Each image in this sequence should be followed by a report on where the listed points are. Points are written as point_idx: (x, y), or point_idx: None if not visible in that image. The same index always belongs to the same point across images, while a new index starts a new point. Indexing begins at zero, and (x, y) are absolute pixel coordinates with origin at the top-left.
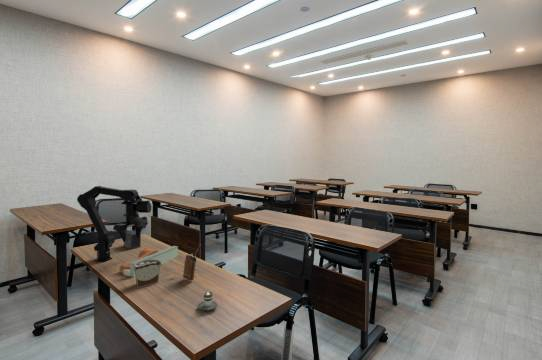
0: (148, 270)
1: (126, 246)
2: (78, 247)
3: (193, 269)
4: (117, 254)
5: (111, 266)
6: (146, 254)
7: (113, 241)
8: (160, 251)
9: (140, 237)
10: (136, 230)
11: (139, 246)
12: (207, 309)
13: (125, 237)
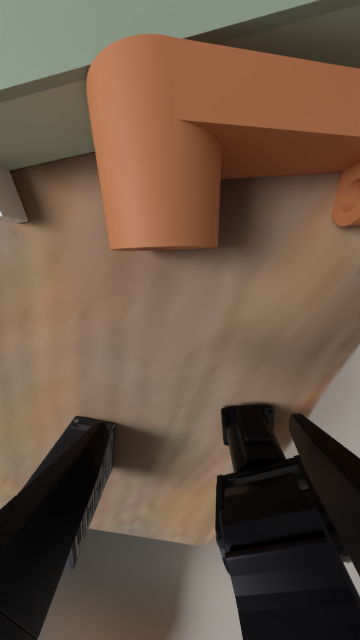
0: None
1: (109, 462)
2: (198, 545)
3: None
4: (172, 431)
5: (294, 336)
6: (238, 90)
7: (239, 505)
8: (72, 49)
9: (32, 476)
10: (48, 574)
11: (72, 427)
12: None
13: (353, 470)
